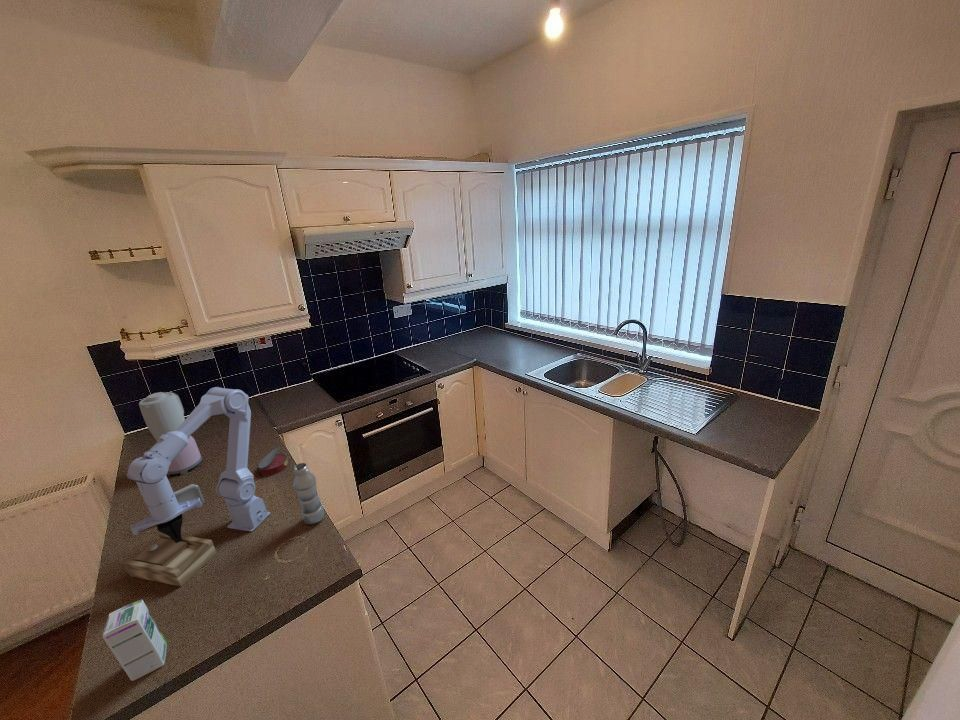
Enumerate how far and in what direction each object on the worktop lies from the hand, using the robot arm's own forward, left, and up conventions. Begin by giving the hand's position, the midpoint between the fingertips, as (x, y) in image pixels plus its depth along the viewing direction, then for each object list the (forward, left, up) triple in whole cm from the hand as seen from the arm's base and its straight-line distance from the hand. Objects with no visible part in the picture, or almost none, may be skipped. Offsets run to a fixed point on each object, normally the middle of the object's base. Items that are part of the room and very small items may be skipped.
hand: (178, 539), depth 104 cm
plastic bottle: (-24, -22, -10) cm, 34 cm away
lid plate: (+9, 0, -7) cm, 11 cm away
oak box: (+6, 0, -10) cm, 12 cm away
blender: (+49, -41, -10) cm, 64 cm away
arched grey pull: (+24, -18, -10) cm, 32 cm away
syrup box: (-14, +22, -10) cm, 28 cm away
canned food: (+10, -44, -10) cm, 46 cm away
